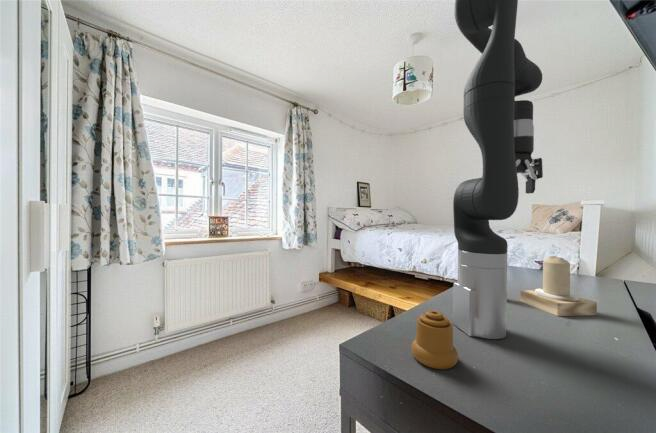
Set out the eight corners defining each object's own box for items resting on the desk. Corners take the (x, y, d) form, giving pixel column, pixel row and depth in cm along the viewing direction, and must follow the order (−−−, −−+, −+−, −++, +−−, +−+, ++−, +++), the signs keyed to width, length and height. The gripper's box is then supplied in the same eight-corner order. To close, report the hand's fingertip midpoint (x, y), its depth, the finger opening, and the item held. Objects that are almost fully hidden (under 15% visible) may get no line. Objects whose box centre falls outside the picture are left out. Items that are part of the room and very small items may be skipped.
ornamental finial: (403, 357, 44) (424, 343, 49) (446, 378, 39) (465, 360, 44) (403, 311, 44) (424, 302, 49) (446, 325, 39) (465, 313, 44)
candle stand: (557, 316, 64) (557, 300, 64) (520, 301, 75) (520, 287, 75) (596, 315, 65) (596, 299, 65) (554, 300, 76) (554, 287, 76)
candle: (575, 296, 66) (575, 258, 66) (551, 295, 67) (551, 258, 67) (560, 290, 72) (560, 255, 72) (538, 289, 73) (538, 254, 73)
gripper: (505, 133, 71) (504, 191, 71) (551, 135, 72) (550, 192, 72) (486, 141, 78) (485, 193, 78) (528, 143, 80) (527, 194, 80)
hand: (516, 192), depth 75 cm, fingers open, 8 cm apart
